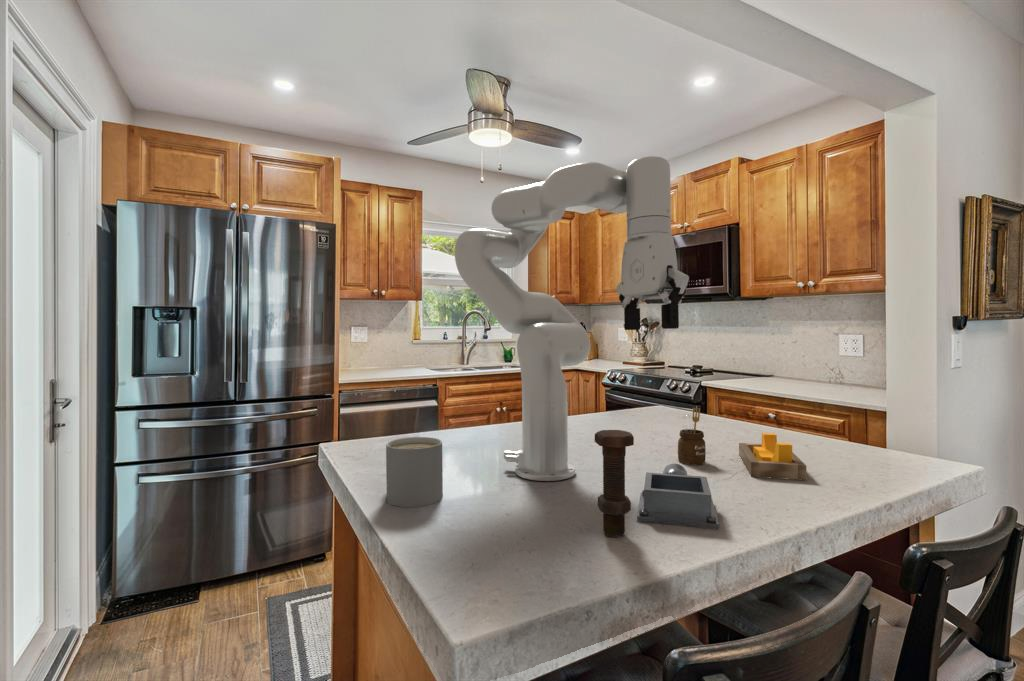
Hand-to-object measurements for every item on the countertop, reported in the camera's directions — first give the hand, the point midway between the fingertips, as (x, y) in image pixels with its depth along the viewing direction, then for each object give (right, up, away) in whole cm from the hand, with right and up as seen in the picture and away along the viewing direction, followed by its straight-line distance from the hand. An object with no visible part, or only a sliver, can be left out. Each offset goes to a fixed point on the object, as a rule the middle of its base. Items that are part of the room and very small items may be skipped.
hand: (650, 329), depth 88 cm
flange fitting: (+4, -30, -2) cm, 31 cm away
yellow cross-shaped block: (+32, -30, +22) cm, 49 cm away
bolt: (-9, -31, -14) cm, 35 cm away
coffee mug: (-43, -31, +4) cm, 53 cm away
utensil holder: (+17, -30, +26) cm, 43 cm away
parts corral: (+32, -30, +22) cm, 49 cm away
